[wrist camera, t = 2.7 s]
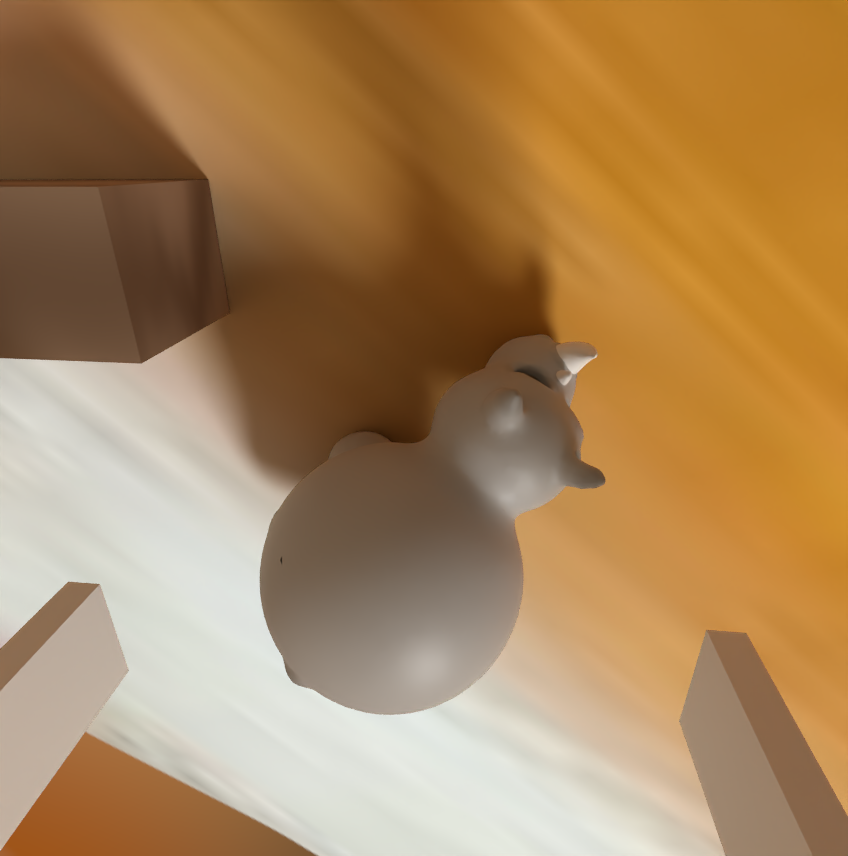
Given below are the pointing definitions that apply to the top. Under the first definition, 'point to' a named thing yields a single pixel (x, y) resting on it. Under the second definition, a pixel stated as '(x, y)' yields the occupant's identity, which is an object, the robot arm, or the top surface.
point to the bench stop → (106, 268)
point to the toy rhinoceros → (423, 537)
